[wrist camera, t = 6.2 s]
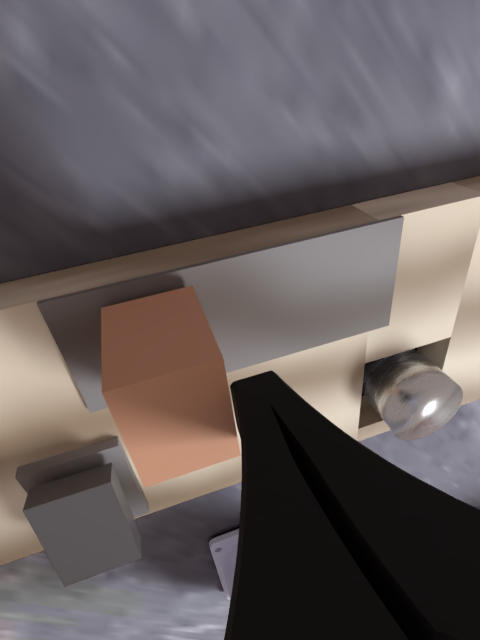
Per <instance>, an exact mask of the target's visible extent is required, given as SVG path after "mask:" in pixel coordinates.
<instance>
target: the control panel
mask: <svg viewBox="0 0 480 640" xmlns="http://www.w3.org/2000/svg"><path fill="white" fill-rule="evenodd" d="M192 285H193V288H194V290H195V293H196V295H197V297H198V300H199V302H200V304H201V307H202V309H203V311H204V314H205V316H206V318H207V321H208V323H209V326H210V328H211V330H212V333H213V335H214V337H215V340H216V342H217V344H218V347H219V349H220V351H221V354H222V356H223V359H224V365H225V370H226V376H227V381H228V387H229V393H230V398H231V404H232V409H233V415H234V420H235V426H236V432H237V437H238V443H239V448H240V454H241V438H240V435H239V432H238V429H237V423H236V418H235V412H234V406H233V401H232V395H231V389H230V385H231V384H232V383H233V382H234V381H237V380H240V379H244V378H247V377H250V376H254V375H257V374H261V373H264V372H267V371H271V370H272V371H274V372H275V373H276V374H277V375H278V376H279V377H280V378H281V379H282V380H283V381H284V382H285V383H287V384H288V385H289V386H290V387H291V388H292V389H293V390H294V391H295V392H296V393H297V394H298V395H300V396H301V397H302V398H303V399H304V400H305V401H306V402H308V403H309V404H310V405H311V406H312V407H313V408H315V409H316V410H317V411H318V412H320V413H321V414H322V415H323V416H325V417H326V418H327V419H328V420H330V421H331V422H332V423H333V424H335V425H336V426H337V427H339V428H340V429H341V430H343V431H344V432H345V433H347V434H348V435H350V436H351V437H352V438H354V439H355V440H356V441H360V440H363V439H366V438H369V437H372V436H375V435H378V434H380V433H383V432H386V431H389V430H391V429H390V428H389V427H388V425H387V424H386V423H385V422H384V420H383V419H382V418H381V417H380V415H379V414H378V413H377V412H376V410H375V409H374V408H373V407H372V405H371V404H370V403H369V402H368V400H367V399H366V397H365V395H364V396H362V386H363V377H364V367H365V363H368V362H372V361H375V360H378V359H381V358H385V357H388V356H391V355H394V354H397V353H401V352H404V351H407V350H410V349H414V348H417V347H418V348H417V351H420V352H422V353H423V354H424V355H425V356H426V357H428V358H429V359H430V360H431V361H432V362H433V363H434V364H435V365H437V366H438V367H439V368H440V369H441V370H442V371H443V372H444V373H446V374H447V375H448V376H449V377H450V378H451V379H452V380H453V381H455V382H456V383H457V384H458V385H459V386H460V387H461V388H462V391H463V399H462V402H461V405H464V404H467V403H470V402H473V401H475V400H478V399H480V176H476V177H472V178H467V179H463V180H458V181H454V182H450V183H445V184H441V185H436V186H432V187H427V188H423V189H418V190H414V191H410V192H405V193H401V194H396V195H392V196H387V197H383V198H379V199H374V200H370V201H365V202H361V203H356V204H352V205H347V206H343V207H339V208H334V209H330V210H325V211H321V212H316V213H312V214H307V215H303V216H299V217H294V218H290V219H285V220H281V221H276V222H272V223H267V224H263V225H259V226H254V227H250V228H245V229H241V230H236V231H232V232H227V233H223V234H219V235H214V236H210V237H205V238H201V239H196V240H192V241H187V242H183V243H179V244H174V245H170V246H165V247H161V248H156V249H152V250H147V251H143V252H139V253H134V254H130V255H125V256H121V257H116V258H112V259H107V260H103V261H99V262H94V263H90V264H85V265H81V266H76V267H72V268H67V269H63V270H59V271H54V272H50V273H45V274H41V275H36V276H32V277H27V278H23V279H19V280H14V281H10V282H5V283H1V284H0V566H1V565H4V564H7V563H10V562H12V561H15V560H18V559H21V558H24V557H27V556H30V555H33V554H35V553H38V552H41V551H44V549H43V547H42V545H41V543H40V542H39V540H38V538H37V536H36V534H35V532H34V531H33V529H32V527H31V525H30V523H29V522H28V520H27V518H26V516H25V514H24V513H23V508H24V505H25V501H26V498H27V495H28V492H29V489H30V488H33V487H36V486H39V485H42V484H46V483H49V482H52V481H55V480H58V479H61V478H64V477H68V476H71V475H74V474H77V473H80V472H83V471H86V470H90V469H93V468H96V467H99V466H102V465H105V464H108V463H112V464H113V466H114V469H115V471H116V474H117V476H118V479H119V481H120V484H121V486H122V489H123V491H124V494H125V497H126V499H127V502H128V504H129V507H130V509H131V512H132V514H133V517H134V519H136V518H139V517H142V516H145V515H148V514H150V513H153V512H156V511H159V510H162V509H165V508H168V507H171V506H173V505H176V504H179V503H182V502H185V501H188V500H191V499H194V498H196V497H199V496H202V495H205V494H208V493H211V492H214V491H217V490H219V489H222V488H225V487H228V486H231V485H234V484H237V483H240V482H242V455H241V456H238V457H235V458H232V459H229V460H226V461H223V462H220V463H217V464H214V465H211V466H208V467H205V468H202V469H199V470H196V471H193V472H190V473H187V474H184V475H181V476H178V477H175V478H172V479H169V480H166V481H163V482H160V483H157V484H154V485H151V486H148V487H145V488H144V486H143V483H142V481H141V479H140V477H139V475H138V472H137V470H136V468H135V466H134V463H133V461H132V459H131V457H130V455H129V452H128V450H127V448H126V446H125V443H124V441H123V439H122V437H121V435H120V432H119V430H118V428H117V426H116V423H115V421H114V419H113V417H112V415H111V412H110V410H109V408H108V406H107V403H106V401H105V399H104V397H103V395H102V361H101V308H103V307H107V306H111V305H115V304H119V303H123V302H127V301H131V300H135V299H139V298H143V297H147V296H152V295H156V294H160V293H164V292H168V291H172V290H176V289H180V288H184V287H188V286H192ZM461 405H460V406H461Z"/></svg>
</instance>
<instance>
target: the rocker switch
mask: <svg viewBox="0 0 480 640" xmlns="http://www.w3.org/2000/svg"><path fill="white" fill-rule="evenodd" d="M23 513H24V514H25V516H26V518H27V520H28V522H29V523H30V525H31V527H32V529H33V531H34V532H35V534H36V536H37V538H38V540H39V542H40V543H41V545H42V547H43V549H44V551H45V552H46V554H47V556H48V558H49V560H50V561H51V563H52V565H53V567H54V569H55V570H56V572H57V574H58V576H59V578H60V579H61V581H62V583H63V585H64V587H65V586H67V585H70V584H73V583H76V582H78V581H81V580H84V579H86V578H89V577H92V576H95V575H97V574H100V573H103V572H106V571H108V570H111V569H114V568H116V567H119V566H122V565H125V564H127V563H130V562H133V561H135V560H138V559H141V558H142V544H141V534H140V532H139V529H138V527H137V524H136V522H135V519H134V517H133V514H132V512H131V509H130V507H129V504H128V502H127V499H126V497H125V494H124V491H123V489H122V486H121V484H120V481H119V479H118V476H117V474H116V471H115V469H114V466H113V464H112V463H108V464H105V465H102V466H99V467H96V468H93V469H90V470H86V471H83V472H80V473H77V474H74V475H71V476H68V477H64V478H61V479H58V480H55V481H52V482H49V483H46V484H42V485H39V486H36V487H33V488H30V489H29V492H28V495H27V498H26V501H25V505H24V508H23Z"/></svg>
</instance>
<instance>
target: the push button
mask: <svg viewBox="0 0 480 640" xmlns="http://www.w3.org/2000/svg"><path fill="white" fill-rule="evenodd" d="M365 397H366V399H367V400H368V402H369V403H370V404H371V405H372V407H373V408H374V409H375V410H376V412H377V413H378V414H379V415H380V417H381V418H382V419H383V420H384V422H385V423H386V424H387V425H388V427H389V428H390V429H391V430H392V432H393V433H394V434H395V435H396V436H397V437H398V438H399V439H402V440H416V439H420V438H423V437H425V436H428V435H430V434H432V433H433V432H435V431H437V430H438V429H440V428H441V427H442V426H443V425H445V424H446V423H447V422H448V421H449V420H450V419H451V418H452V417H453V416H454V414H455V413H456V412H457V410H458V409H459V407H460V405H461V402H462V399H463V391H462V388H461V387H460V386H459V385H458V384H457V383H456V382H455V381H453V380H452V379H451V378H450V377H449V376H448V375H447V374H446V373H444V372H443V371H442V370H441V369H440V368H439V367H438V366H437V365H435V364H434V363H433V362H432V361H431V360H430V359H429V358H428V357H426V356H425V355H424V354H423V353H422V352H420V351H417V350H407V351H404V352H401V353H397V354H394V355H392V356H390V357H389V358H387V359H386V360H384V361H383V362H382V363H380V364H379V365H378V366H377V367H376V368H375V369H374V371H373V372H372V373H371V375H370V376H369V378H368V380H367V382H366V385H365Z"/></svg>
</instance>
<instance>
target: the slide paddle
mask: <svg viewBox="0 0 480 640" xmlns="http://www.w3.org/2000/svg"><path fill="white" fill-rule="evenodd" d="M101 361H102V395H103V397H104V399H105V401H106V403H107V406H108V408H109V410H110V412H111V415H112V417H113V419H114V421H115V423H116V426H117V428H118V430H119V432H120V435H121V437H122V439H123V441H124V443H125V446H126V448H127V450H128V452H129V455H130V457H131V459H132V461H133V463H134V466H135V468H136V470H137V472H138V475H139V477H140V479H141V481H142V483H143V486H144V488H145V487H148V486H151V485H154V484H157V483H160V482H163V481H166V480H169V479H172V478H175V477H178V476H181V475H184V474H187V473H190V472H193V471H196V470H199V469H202V468H205V467H208V466H211V465H214V464H217V463H220V462H223V461H226V460H229V459H232V458H235V457H238V456H241V454H240V448H239V443H238V437H237V432H236V426H235V420H234V415H233V409H232V404H231V398H230V393H229V387H228V381H227V376H226V370H225V365H224V359H223V356H222V354H221V351H220V349H219V347H218V344H217V342H216V340H215V337H214V335H213V333H212V330H211V328H210V326H209V323H208V321H207V318H206V316H205V314H204V311H203V309H202V307H201V304H200V302H199V300H198V297H197V295H196V293H195V290H194V288H193V285H192V286H188V287H184V288H180V289H176V290H172V291H168V292H164V293H160V294H156V295H152V296H147V297H143V298H139V299H135V300H131V301H127V302H123V303H119V304H115V305H111V306H107V307H103V308H101Z"/></svg>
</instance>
